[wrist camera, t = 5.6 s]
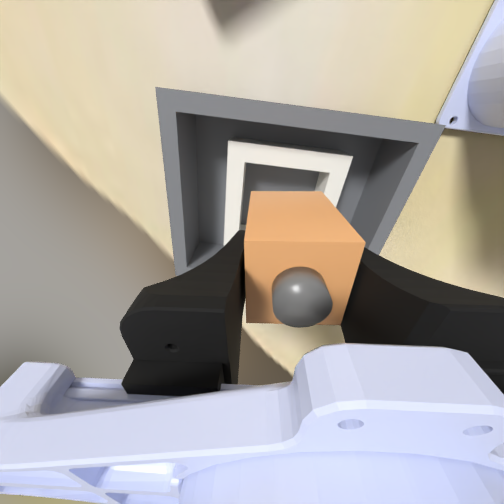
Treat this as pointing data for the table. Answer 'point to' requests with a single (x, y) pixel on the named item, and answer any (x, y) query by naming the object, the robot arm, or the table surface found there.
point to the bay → (281, 165)
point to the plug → (298, 259)
